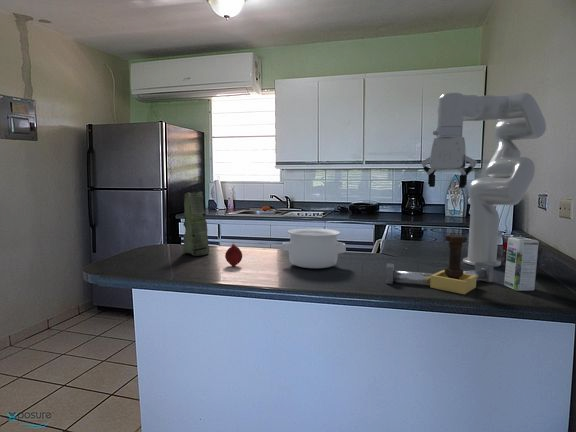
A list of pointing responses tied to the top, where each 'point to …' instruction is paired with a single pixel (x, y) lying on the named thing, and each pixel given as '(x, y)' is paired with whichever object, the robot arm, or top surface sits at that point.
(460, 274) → the bolt
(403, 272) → the shaft
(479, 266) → the shaft
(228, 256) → the onion
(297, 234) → the pot
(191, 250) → the pouch
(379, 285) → the top surface
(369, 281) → the top surface
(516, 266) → the syrup box
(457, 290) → the yoke socket
